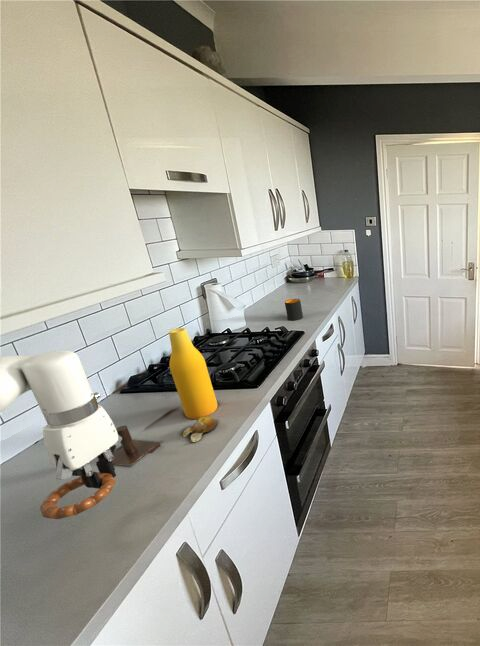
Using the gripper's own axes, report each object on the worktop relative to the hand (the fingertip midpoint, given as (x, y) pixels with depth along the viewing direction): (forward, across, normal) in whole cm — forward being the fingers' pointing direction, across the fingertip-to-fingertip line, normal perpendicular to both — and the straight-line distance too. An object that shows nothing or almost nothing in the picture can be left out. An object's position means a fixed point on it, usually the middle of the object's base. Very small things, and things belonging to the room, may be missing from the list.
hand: (102, 481), depth 76 cm
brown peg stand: (+8, -16, -12) cm, 22 cm away
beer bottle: (+8, -37, -8) cm, 39 cm away
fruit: (+8, -27, -1) cm, 28 cm away
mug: (+7, -127, -23) cm, 129 cm away
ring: (-1, +4, 0) cm, 4 cm away
